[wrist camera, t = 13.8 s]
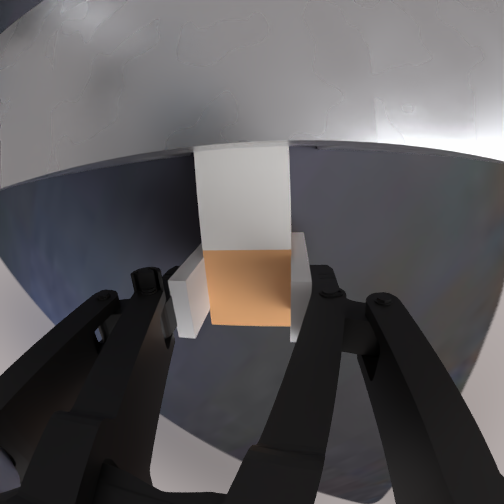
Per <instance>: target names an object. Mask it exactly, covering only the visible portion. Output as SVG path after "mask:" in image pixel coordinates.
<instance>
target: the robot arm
mask: <svg viewBox="0 0 504 504" xmlns="http://www.w3.org/2000/svg"><path fill="white" fill-rule="evenodd" d="M131 278H132V283H133V287H134V294H133V295H132V297H131V299H123V300H119V297H118V294H117V292H116V291H113V290H102V291H100V292H98V293H96V294H94V295H92V296H91V297H90V298H89V299H88V300H86V301H85V302H84V303H83V304H81V305H80V306H79V307H78V308H76V309H75V310H74V311H73V312H72V313H70V314H69V315H68V316H67V317H66V318H64V319H63V320H62V321H61V322H60V323H58V324H57V325H56V326H55V327H54V328H53V329H51V330H50V331H49V332H48V333H47V334H46V335H44V336H43V338H41V339H40V340H39V341H38V342H36V343H35V344H34V345H33V346H32V347H31V348H30V349H29V350H28V351H27V352H25V353H24V355H22V356H21V357H20V358H19V359H18V360H17V361H16V362H14V364H12V365H11V366H10V367H9V368H8V369H7V370H6V371H5V372H4V373H3V374H2V375H1V376H0V504H314V501H315V498H316V494H317V490H318V486H319V482H320V478H321V474H322V470H323V465H324V460H325V452H326V447H327V442H328V437H329V431H330V426H331V421H332V415H333V409H334V403H335V397H336V390H337V383H338V376H339V368H340V360H341V351H342V352H348V353H354V354H357V359H358V362H359V365H360V368H361V371H362V375H363V378H364V381H365V384H366V388H367V391H368V394H369V398H370V401H371V405H372V408H373V412H374V415H375V419H376V422H377V426H378V430H379V433H380V437H381V441H382V445H383V449H384V453H385V457H386V461H387V465H388V470H389V474H390V478H391V483H392V487H393V492H394V497H395V502H396V504H504V477H503V476H502V475H501V474H500V473H499V470H498V468H497V465H496V463H495V461H494V459H493V456H492V454H491V452H490V450H489V448H488V446H487V444H486V442H485V439H484V437H483V435H482V433H481V431H480V429H479V427H478V425H477V423H476V421H475V419H474V418H473V416H472V414H471V412H470V410H469V408H468V407H467V405H466V403H465V401H464V399H463V397H462V396H461V394H460V392H459V390H458V389H457V387H456V385H455V383H454V382H453V380H452V378H451V377H450V375H449V373H448V372H447V370H446V368H445V367H444V365H443V364H442V362H441V360H440V359H439V357H438V356H437V354H436V352H435V351H434V349H433V348H432V346H431V345H430V343H429V342H428V340H427V339H426V337H425V336H424V334H423V333H422V331H421V330H420V328H419V327H418V325H417V324H416V322H415V321H414V319H413V318H412V317H411V315H410V314H409V312H408V311H407V309H406V308H405V307H404V305H403V304H402V302H401V301H400V300H399V299H398V298H397V297H396V296H394V295H392V294H390V293H385V292H382V293H373V294H371V295H369V296H368V297H367V298H366V303H362V302H356V301H352V300H349V299H347V298H346V293H345V291H344V290H342V289H340V288H339V286H338V283H337V280H336V277H335V275H334V271H333V269H332V268H331V267H329V266H328V265H309V261H308V255H307V249H306V243H305V238H304V232H291V326H290V342H296V344H295V347H294V350H293V353H292V356H291V358H290V361H289V364H288V367H287V370H286V373H285V375H284V378H283V381H282V384H281V386H280V389H279V392H278V395H277V397H276V400H275V403H274V405H273V408H272V410H271V413H270V415H269V418H268V421H267V423H266V426H265V428H264V431H263V433H262V435H261V438H260V440H259V442H258V443H257V445H252V446H251V447H250V448H249V450H248V452H247V454H246V455H245V457H244V459H243V462H242V464H241V466H240V468H239V471H238V472H237V475H236V477H235V479H234V481H233V483H232V485H231V487H230V489H229V491H228V493H227V494H222V493H215V492H195V493H194V492H192V493H191V492H190V493H181V492H180V493H179V492H177V493H176V492H174V493H173V492H163V491H160V490H159V489H157V488H155V487H153V485H152V481H151V477H150V463H151V458H152V451H153V445H154V440H155V434H156V429H157V424H158V418H159V413H160V408H161V403H162V398H163V394H164V389H165V384H166V379H167V375H168V370H169V366H170V361H171V357H172V352H173V348H174V344H175V338H174V334H173V332H174V330H175V328H176V327H177V330H178V334H179V337H184V338H196V336H197V334H198V332H199V330H200V328H201V326H202V324H203V322H204V320H205V318H206V316H207V314H208V312H209V309H210V302H209V295H208V287H207V279H206V271H205V262H204V257H203V249H202V243H201V244H200V245H199V246H198V247H197V248H196V249H195V251H194V252H193V253H192V254H191V255H190V256H189V257H188V258H187V259H186V261H185V262H184V263H183V264H182V265H181V266H175V267H173V268H171V269H169V270H168V271H167V272H166V273H165V274H164V275H163V276H162V275H161V270H160V269H159V268H156V267H145V268H141V269H138V270H136V271H133V272H132V273H131ZM97 328H99V331H100V334H101V337H102V340H101V341H100V342H98V340H97V338H96V335H95V330H96V329H97Z"/></svg>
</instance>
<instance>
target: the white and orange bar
mask: <svg viewBox="0 0 504 504" xmlns="http://www.w3.org/2000/svg"><path fill="white" fill-rule="evenodd" d="M194 161H195V175H196V187H197V199H198V210H199V220H200V230H201V240H202V249H203V257H204V262H205V271H206V279H207V287H208V295H209V302H210V313H211V320H212V324H217V325H242V326H291V200H290V167H289V146H272V147H249V148H233V149H219V150H208V151H198V152H194Z"/></svg>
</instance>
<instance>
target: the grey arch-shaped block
mask: <svg viewBox="0 0 504 504" xmlns="http://www.w3.org/2000/svg"><path fill="white" fill-rule="evenodd" d="M272 146H317V149H329V150H359V151H377V152H391V153H405V154H422V155H436V156H447V157H457V158H466V159H474V160H482V161H489V162H496V163H502V164H504V0H44V1H43V2H41V3H40V4H38V5H37V6H35V7H34V8H33V9H31V10H30V11H29V12H27V13H26V14H25V15H23V16H22V17H21V18H19V19H18V20H17V21H15V22H14V23H13V24H12V25H11V26H9V27H8V28H7V29H6V30H5V31H3V32H2V33H1V34H0V190H3V189H7V188H11V187H14V186H18V185H22V184H26V183H30V182H34V181H39V180H43V179H47V178H52V177H57V176H61V175H66V174H71V173H77V172H82V171H88V170H93V169H99V168H106V167H112V166H119V165H125V164H131V163H137V162H144V161H150V160H158V159H165V158H173V157H182V156H191V152H198V151H208V150H219V149H233V148H249V147H272Z"/></svg>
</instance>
